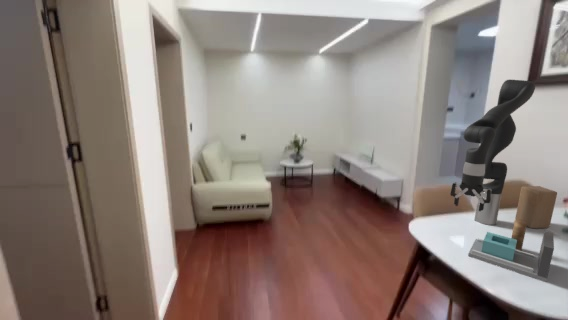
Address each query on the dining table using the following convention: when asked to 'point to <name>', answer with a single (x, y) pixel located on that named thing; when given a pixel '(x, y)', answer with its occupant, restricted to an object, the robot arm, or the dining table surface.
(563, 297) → the dining table surface
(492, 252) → the socket block
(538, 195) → the block
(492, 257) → the rail base
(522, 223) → the dowel
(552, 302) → the dining table surface
